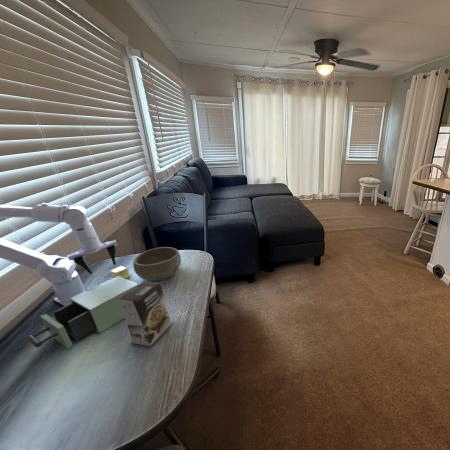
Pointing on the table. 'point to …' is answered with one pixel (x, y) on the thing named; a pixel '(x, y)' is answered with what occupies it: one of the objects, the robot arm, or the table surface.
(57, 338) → the drawer
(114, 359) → the table surface
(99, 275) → the table surface
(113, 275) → the block
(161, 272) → the bowl
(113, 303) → the pale mint box
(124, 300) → the brown food box
